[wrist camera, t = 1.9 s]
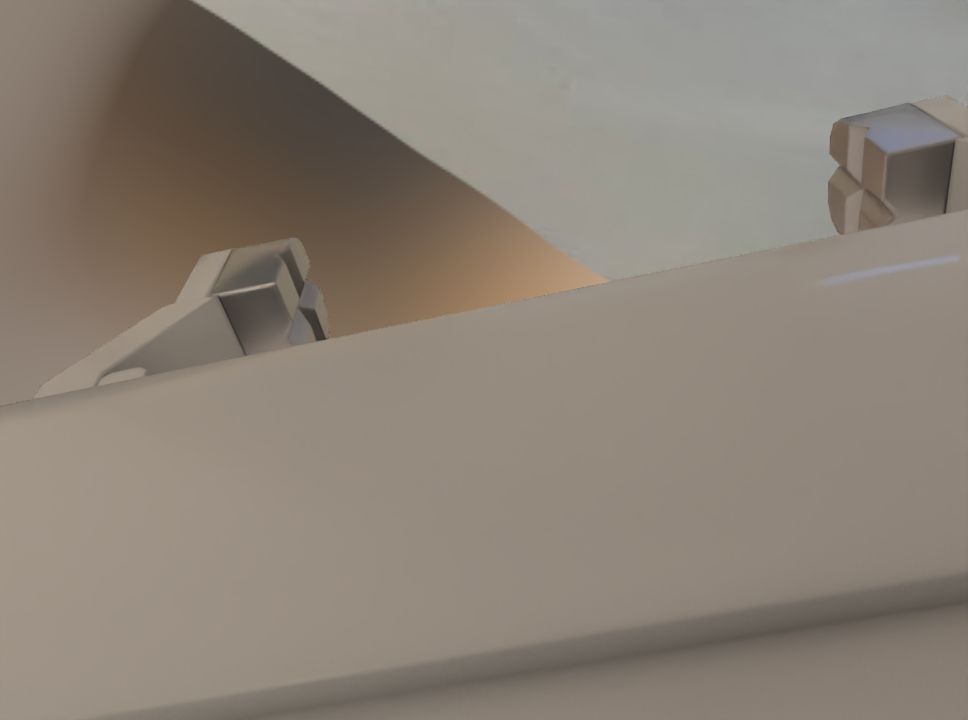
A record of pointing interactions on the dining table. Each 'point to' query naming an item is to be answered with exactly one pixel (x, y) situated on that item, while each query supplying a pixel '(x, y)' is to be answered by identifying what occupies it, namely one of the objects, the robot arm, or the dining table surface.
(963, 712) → the robot arm
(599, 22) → the dining table surface
